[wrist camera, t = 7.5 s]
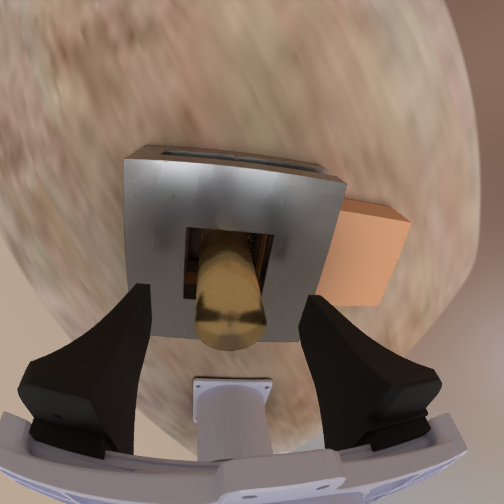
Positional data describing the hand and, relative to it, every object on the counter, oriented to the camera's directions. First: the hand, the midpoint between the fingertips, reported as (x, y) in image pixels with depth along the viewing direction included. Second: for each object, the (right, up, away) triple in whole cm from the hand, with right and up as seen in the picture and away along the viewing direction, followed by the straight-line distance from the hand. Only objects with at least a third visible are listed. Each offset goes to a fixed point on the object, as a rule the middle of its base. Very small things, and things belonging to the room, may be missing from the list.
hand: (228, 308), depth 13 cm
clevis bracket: (-1, +4, +7) cm, 8 cm away
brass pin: (-1, +4, +7) cm, 8 cm away
